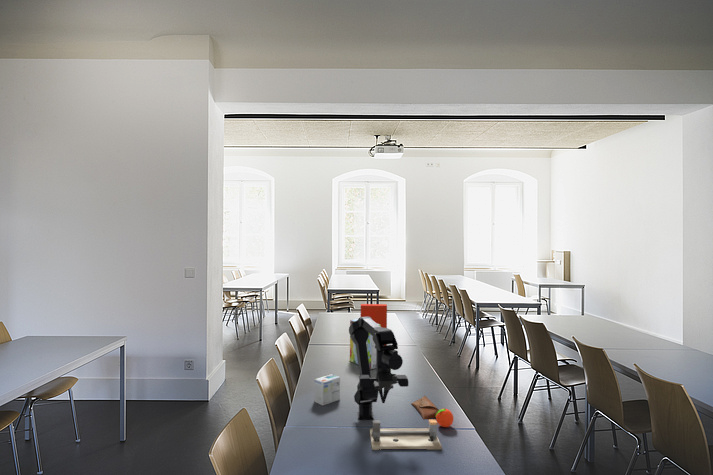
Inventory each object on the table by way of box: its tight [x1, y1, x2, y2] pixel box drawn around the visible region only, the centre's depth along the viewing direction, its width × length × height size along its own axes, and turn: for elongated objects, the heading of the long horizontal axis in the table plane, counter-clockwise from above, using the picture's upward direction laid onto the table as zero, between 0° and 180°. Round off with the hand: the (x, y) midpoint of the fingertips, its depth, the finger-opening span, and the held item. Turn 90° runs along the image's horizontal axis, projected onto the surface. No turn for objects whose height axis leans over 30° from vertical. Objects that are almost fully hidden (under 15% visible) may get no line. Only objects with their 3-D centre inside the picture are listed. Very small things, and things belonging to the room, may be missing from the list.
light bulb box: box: [314, 373, 341, 406], centre depth 191 cm, size 11×7×11 cm, turn 135°
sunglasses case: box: [410, 395, 440, 420], centre depth 181 cm, size 18×7×7 cm
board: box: [369, 419, 443, 451], centre depth 154 cm, size 14×25×7 cm, turn 92°
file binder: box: [360, 303, 388, 328], centre depth 273 cm, size 8×17×32 cm, turn 88°
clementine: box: [435, 408, 454, 428], centre depth 165 cm, size 8×7×7 cm
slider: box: [428, 419, 438, 440], centre depth 153 cm, size 4×3×6 cm, turn 1°
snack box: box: [349, 318, 381, 370], centre depth 248 cm, size 22×9×26 cm, turn 34°
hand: (383, 402), depth 159 cm, fingers closed
